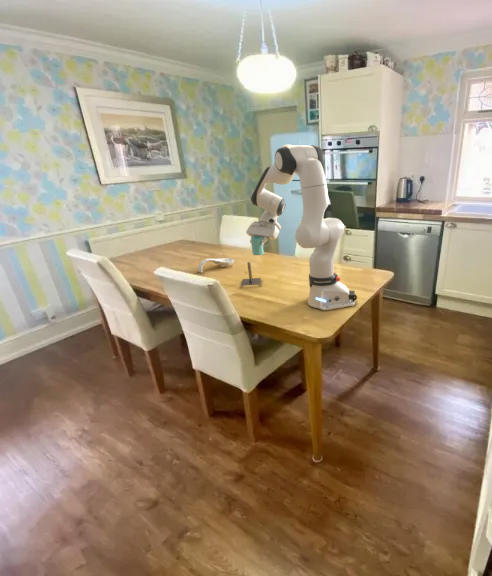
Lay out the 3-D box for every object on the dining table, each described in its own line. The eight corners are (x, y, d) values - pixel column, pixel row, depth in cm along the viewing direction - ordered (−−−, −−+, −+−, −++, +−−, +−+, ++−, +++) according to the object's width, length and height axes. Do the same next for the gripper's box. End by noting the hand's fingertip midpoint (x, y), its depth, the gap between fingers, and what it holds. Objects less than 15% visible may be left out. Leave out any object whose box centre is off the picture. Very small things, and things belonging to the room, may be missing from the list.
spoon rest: (228, 261, 215) (227, 251, 212) (238, 265, 207) (237, 254, 204) (195, 270, 200) (193, 260, 197) (204, 275, 192) (202, 263, 189)
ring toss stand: (261, 280, 181) (258, 259, 176) (260, 286, 172) (257, 264, 167) (243, 281, 180) (240, 260, 176) (241, 288, 171) (238, 266, 166)
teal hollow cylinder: (263, 251, 180) (262, 236, 177) (263, 255, 175) (261, 238, 171) (253, 252, 180) (251, 236, 176) (252, 255, 174) (250, 239, 171)
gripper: (250, 217, 181) (239, 238, 177) (277, 220, 170) (267, 242, 167) (256, 224, 186) (246, 244, 182) (283, 227, 176) (273, 249, 172)
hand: (256, 243), depth 174 cm, fingers closed on teal hollow cylinder, 6 cm apart
